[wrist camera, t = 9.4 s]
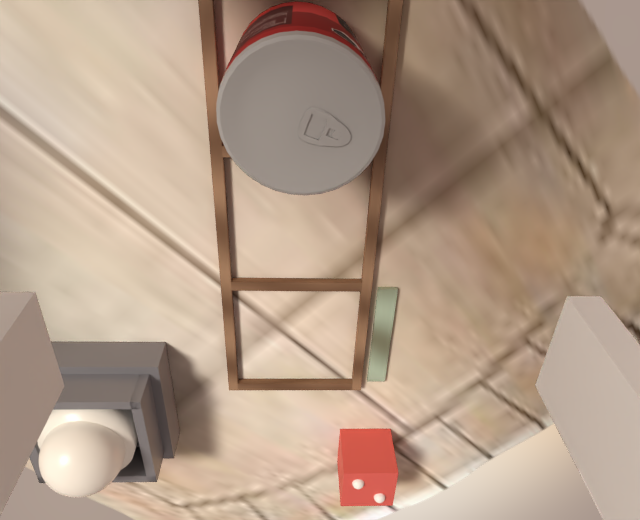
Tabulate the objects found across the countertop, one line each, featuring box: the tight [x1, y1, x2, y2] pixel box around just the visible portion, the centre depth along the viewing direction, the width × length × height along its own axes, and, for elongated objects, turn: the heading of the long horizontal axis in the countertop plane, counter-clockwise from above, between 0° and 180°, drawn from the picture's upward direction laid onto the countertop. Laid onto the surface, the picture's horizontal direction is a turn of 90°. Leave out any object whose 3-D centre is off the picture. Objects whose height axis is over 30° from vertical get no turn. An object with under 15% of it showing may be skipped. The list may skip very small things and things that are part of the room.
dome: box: [37, 409, 138, 497], centre depth 43 cm, size 8×8×6 cm
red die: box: [337, 429, 398, 506], centre depth 52 cm, size 5×5×6 cm
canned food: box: [216, 2, 385, 195], centre depth 29 cm, size 8×8×11 cm
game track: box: [198, 0, 403, 390], centre depth 40 cm, size 34×14×1 cm, turn 178°
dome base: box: [29, 342, 180, 483], centre depth 46 cm, size 12×12×6 cm
